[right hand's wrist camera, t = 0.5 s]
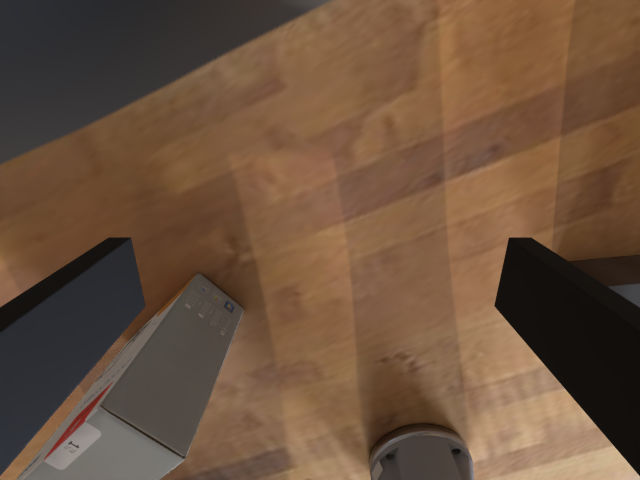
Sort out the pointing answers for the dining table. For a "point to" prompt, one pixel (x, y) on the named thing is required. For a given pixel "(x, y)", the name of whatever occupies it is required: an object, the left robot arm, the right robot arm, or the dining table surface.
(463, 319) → the dining table surface
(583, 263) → the rail
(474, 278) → the dining table surface
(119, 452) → the hard drive box
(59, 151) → the dining table surface
